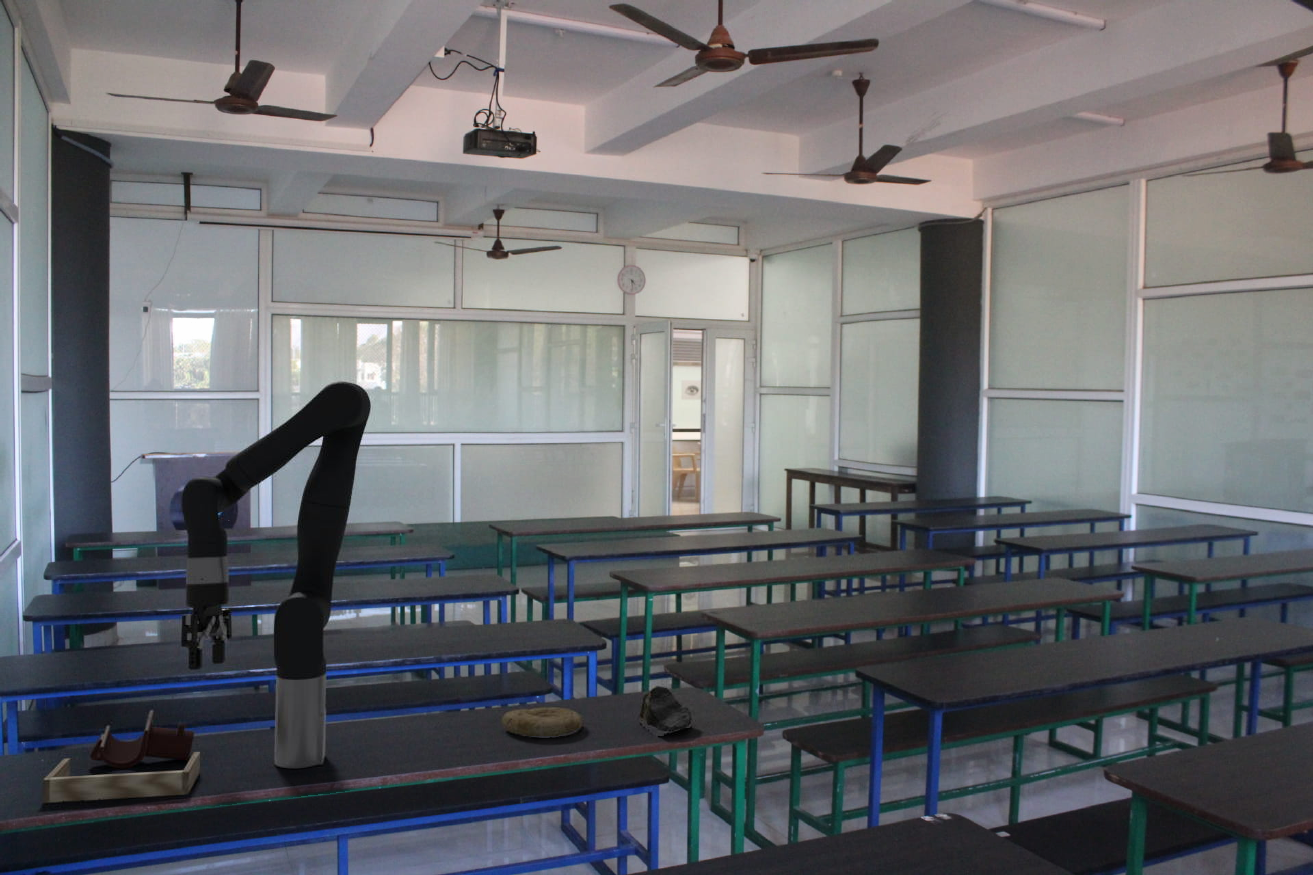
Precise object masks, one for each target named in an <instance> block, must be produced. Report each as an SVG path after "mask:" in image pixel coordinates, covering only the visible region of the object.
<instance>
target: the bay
mask: <svg viewBox="0 0 1313 875" xmlns="http://www.w3.org/2000/svg"><path fill="white" fill-rule="evenodd" d="M200 762H201V751H193V753H192V755H191V757H189V759H188V762H187V764H186V765H185V767H184V768H183V770H182V769H181V770H165V771H148V772H147V771H146V772H131V773H128V772H127V773H110V774H108V773H107V774H95V775H94V774H93V775H92V774H91V775H75V776H74V775H73V776H71V758H70V757H69V758H63V759H62V760H61V761H60V762H59V763H58V764H57V765H56V767H55V768H53V769H52V771H50V772H49V774H47V776H46V777H45V778H43V782H42V784H43V785H42V786H43V787H42V788H43V789H42V790H43V791H42V803H43V804H47V803H48V804H49V803H63V801H64V803H65V801H66V802H81V800H82V801H83V800H84V801H99V799H100V801H101V800H115V799H117V800H118V799H128V798H129V799H131V798H132V799H133V798H134V799H135V798H146V797H147V798H149V797H151V798H152V797H165V796H179V795H181V796H183V795H184V796H185V795H189V793H190V792H191V789H192V787H193V785H194V784H195V782H196V780H197V779H198V776H199V775H200V773H201V772H200V769H201V767H200V766H201V765H200Z"/></svg>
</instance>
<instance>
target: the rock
mask: <svg viewBox="0 0 1313 875" xmlns="http://www.w3.org/2000/svg"><path fill="white" fill-rule="evenodd" d="M638 715H639V716H638V718H639V717H641V718H643V720H644V721H645V722H646V724H648V725H652V726H654V727H656V728H657V729H658V730H662V731H669V732H671V731H674V730H678V729H682V728H684V729H686V728H685V727H687V726H689V725H690V724H691V720H692V721H693V718H692V714H691V711H690V709H689V708H688V707H687V706H685V705H682V704H681V703H680V702H679V700H678V699H677V698H676V697H675V696H674V694H673V693H672V692H671V691H670V689H668V687H664V686H661V685H660V686H659V685H655V687H653V688H651V689H650V691H647V692H645V693H643V697H642V704H641V707H640V712H639V714H638ZM682 730H683V729H682Z"/></svg>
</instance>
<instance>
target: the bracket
mask: <svg viewBox="0 0 1313 875" xmlns="http://www.w3.org/2000/svg"><path fill="white" fill-rule="evenodd" d="M153 718H154V710H153V709H151V710H149V713H148V715H147V719H146V724H145V728H144V732H143V734H142V735H141V736H140V737H138V738H137V739H135V740H131V741H122V740H120V739H117V738H116V737H114V736H113V735H112V733H111V726H110V725H106V727H105V730H104V733H101V734H100V736H99V738H98V739H97V741H96V742H95V744H94V745H93V746H92V749H91V752H90V754H89V755H90V759H91V760H93V761H95V762H97V761H98V762H99V761H100V762H102V763H104V764H106V765H108V766H110V767H111V768H114V769H115V768H116V769H123V768H131V767H133V766H136V765H138V764H139V763H141V762H142V760H143V759H144V757H145V758H146V757H148V758H156V759H157V758H158V759H167V760H177V761H179V760H180V761H189V759H190V754H191V750H192V746H193V742H194V738H195V734H196V732H195V730H186V727H187V726H186V725H187V723H181V722H178V725H177V728H169V727H159V726H158V727H157V726H152V725H153V723H154V722H153V721H154V720H153Z"/></svg>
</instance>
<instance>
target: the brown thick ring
mask: <svg viewBox="0 0 1313 875" xmlns="http://www.w3.org/2000/svg"><path fill="white" fill-rule="evenodd" d="M501 724H502V727H503V728H504V729H505V730H506V729H507V730H506V731H508V732H509V733H511V732H513V733H512V734H514V733H516V734H515V735H517V734H521V735H526V736H558V735H562V734H563V735H564V734H569V733H572V732H575V731H577V730H578V729H580V728H581V727H582V728H583V725H584V717H583V716H582V715H581V714H579V713H578V712H577V711H575V710H571V709H568V708H563V707H557V706H555V707H538V708H531V709H514V710H510V711H508V712H506V713H505V714H504V715H503V716H502V719H501ZM582 728H581V729H582ZM581 729H580V730H581ZM521 735H520V736H521Z"/></svg>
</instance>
